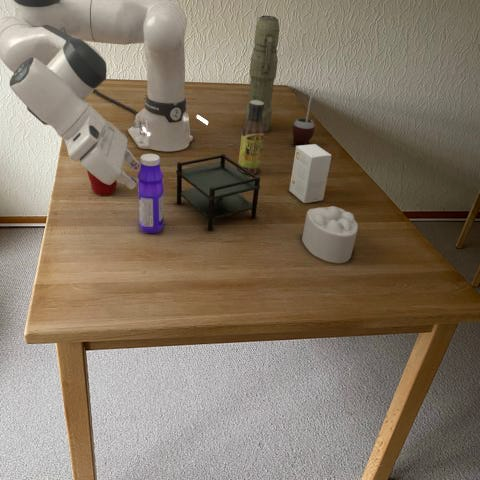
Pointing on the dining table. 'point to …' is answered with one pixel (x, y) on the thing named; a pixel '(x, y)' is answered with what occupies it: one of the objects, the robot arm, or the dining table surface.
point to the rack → (217, 188)
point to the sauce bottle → (252, 138)
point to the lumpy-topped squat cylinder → (330, 233)
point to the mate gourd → (303, 129)
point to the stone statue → (264, 66)
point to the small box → (310, 173)
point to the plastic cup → (101, 186)
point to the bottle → (150, 194)
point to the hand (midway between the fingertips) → (135, 176)
